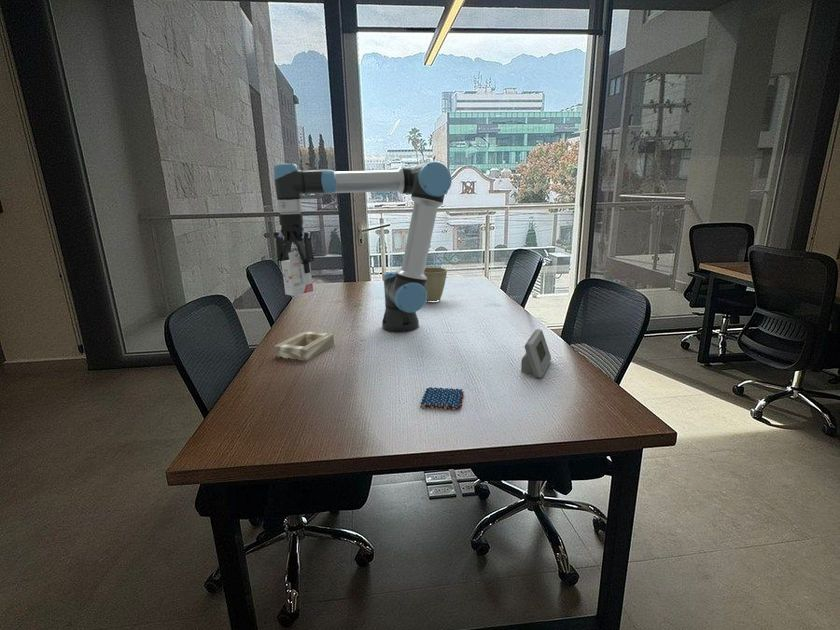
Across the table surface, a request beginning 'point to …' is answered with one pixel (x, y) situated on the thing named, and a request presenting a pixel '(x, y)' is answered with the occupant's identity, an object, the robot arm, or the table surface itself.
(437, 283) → the plant pot
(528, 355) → the digital clock
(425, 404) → the woven mat
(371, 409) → the table surface
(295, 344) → the beige flat rectangular frame
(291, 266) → the ink cartridge box
